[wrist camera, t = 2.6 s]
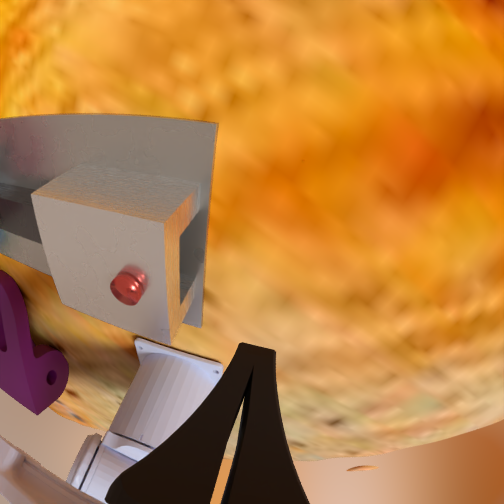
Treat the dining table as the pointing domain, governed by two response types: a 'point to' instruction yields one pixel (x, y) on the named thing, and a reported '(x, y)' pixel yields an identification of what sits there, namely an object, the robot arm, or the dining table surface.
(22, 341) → the mounting bracket
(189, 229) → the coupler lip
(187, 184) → the block
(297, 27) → the dining table surface
